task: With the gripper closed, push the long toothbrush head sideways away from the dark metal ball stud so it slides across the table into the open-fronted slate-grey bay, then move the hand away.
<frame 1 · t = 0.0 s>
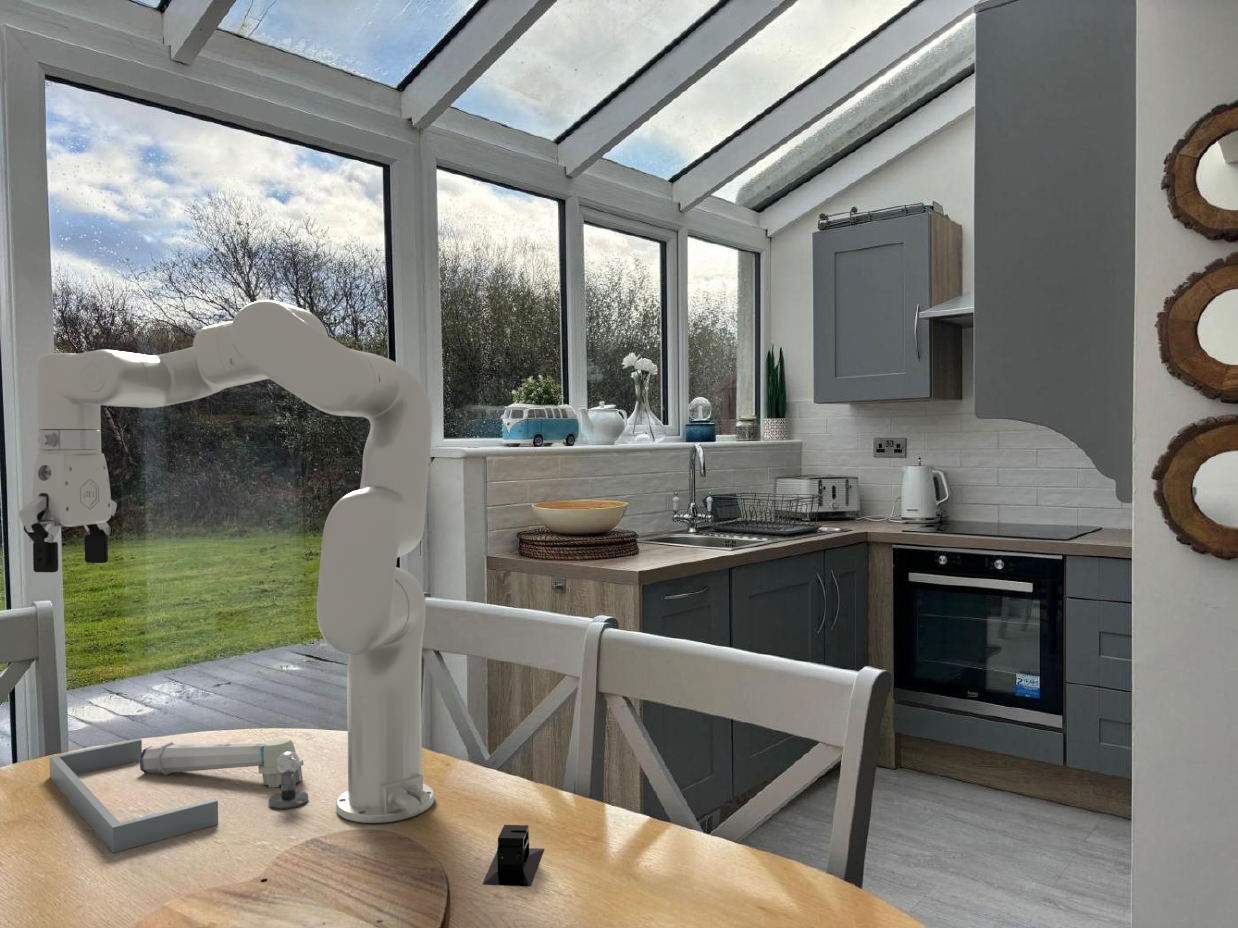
hand: (72, 567, 128), 31 cm above the table, tool pointing down, fingers open, 9 cm apart
bay: (128, 798, 125), on the table
black slotted block: (513, 872, 105), on the table
ball stud: (288, 802, 124), on the table
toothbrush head: (222, 780, 134), on the table
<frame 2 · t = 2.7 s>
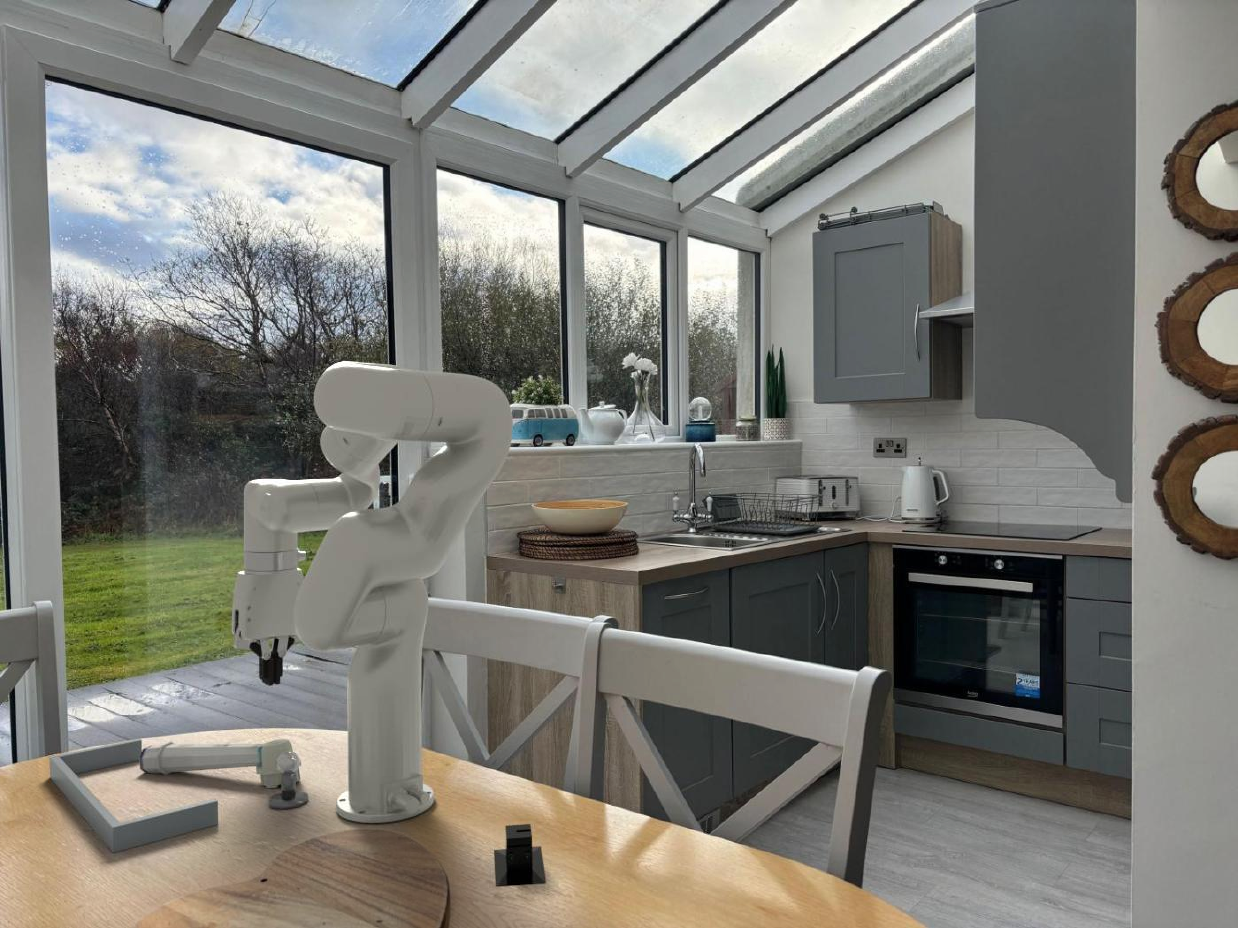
hand: (270, 682, 139), 12 cm above the table, tool pointing down, fingers closed
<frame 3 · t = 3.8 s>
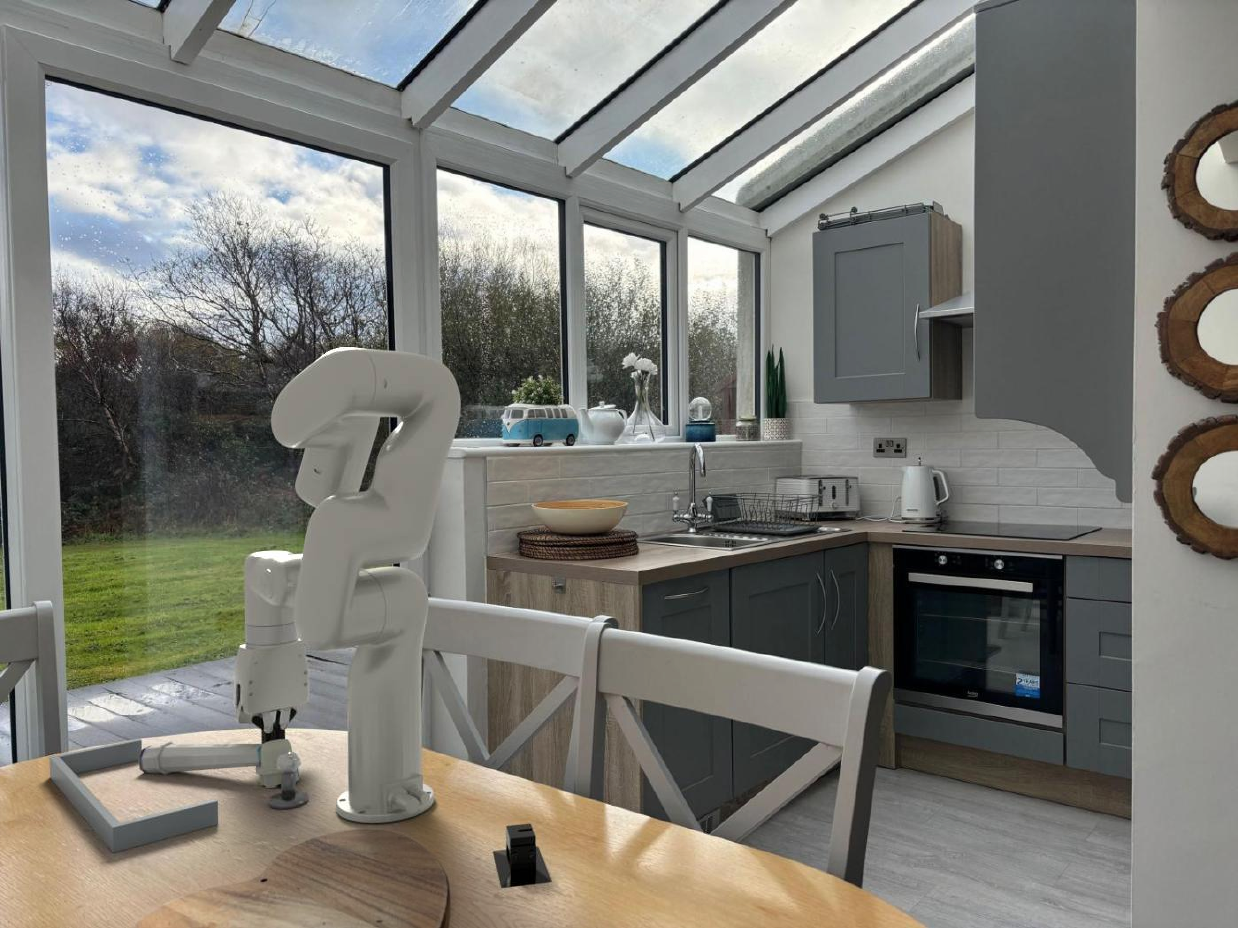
hand: (273, 755, 139), 1 cm above the table, tool pointing down, fingers closed
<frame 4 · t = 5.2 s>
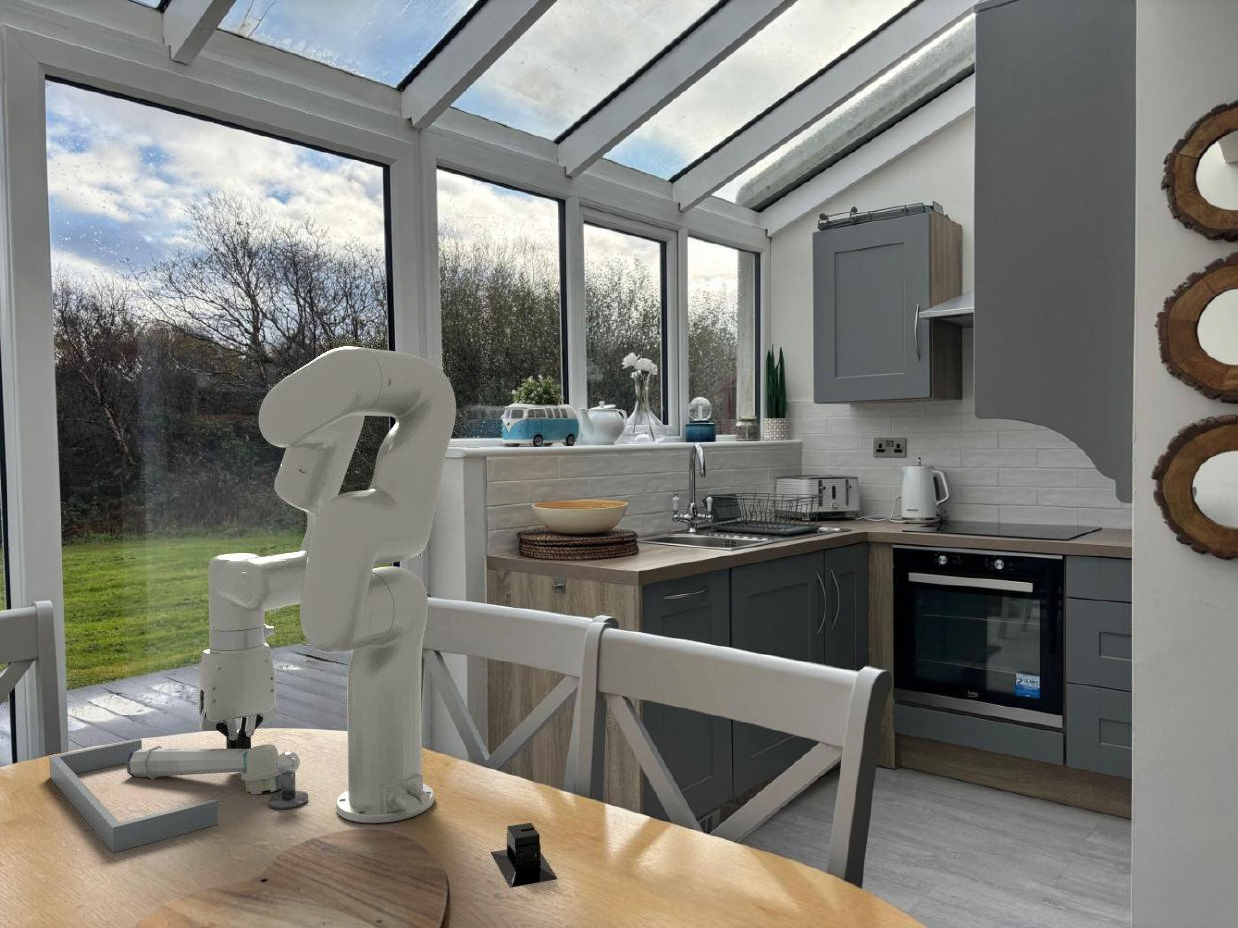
hand: (238, 763, 135), 1 cm above the table, tool pointing down, fingers closed
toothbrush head: (207, 785, 132), on the table
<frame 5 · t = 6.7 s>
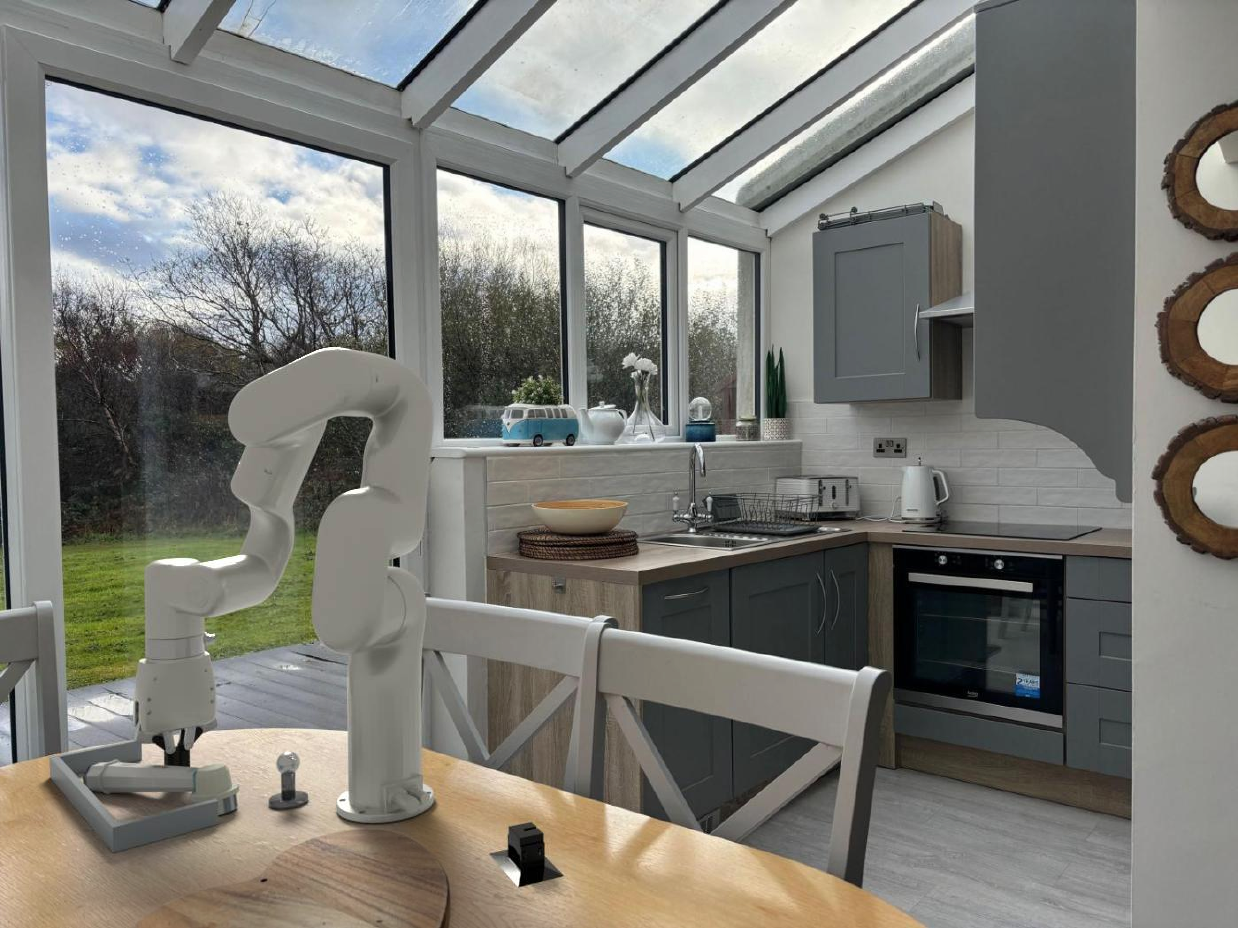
hand: (177, 777, 130), 1 cm above the table, tool pointing down, fingers closed
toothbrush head: (161, 803, 125), on the table, touching gripper
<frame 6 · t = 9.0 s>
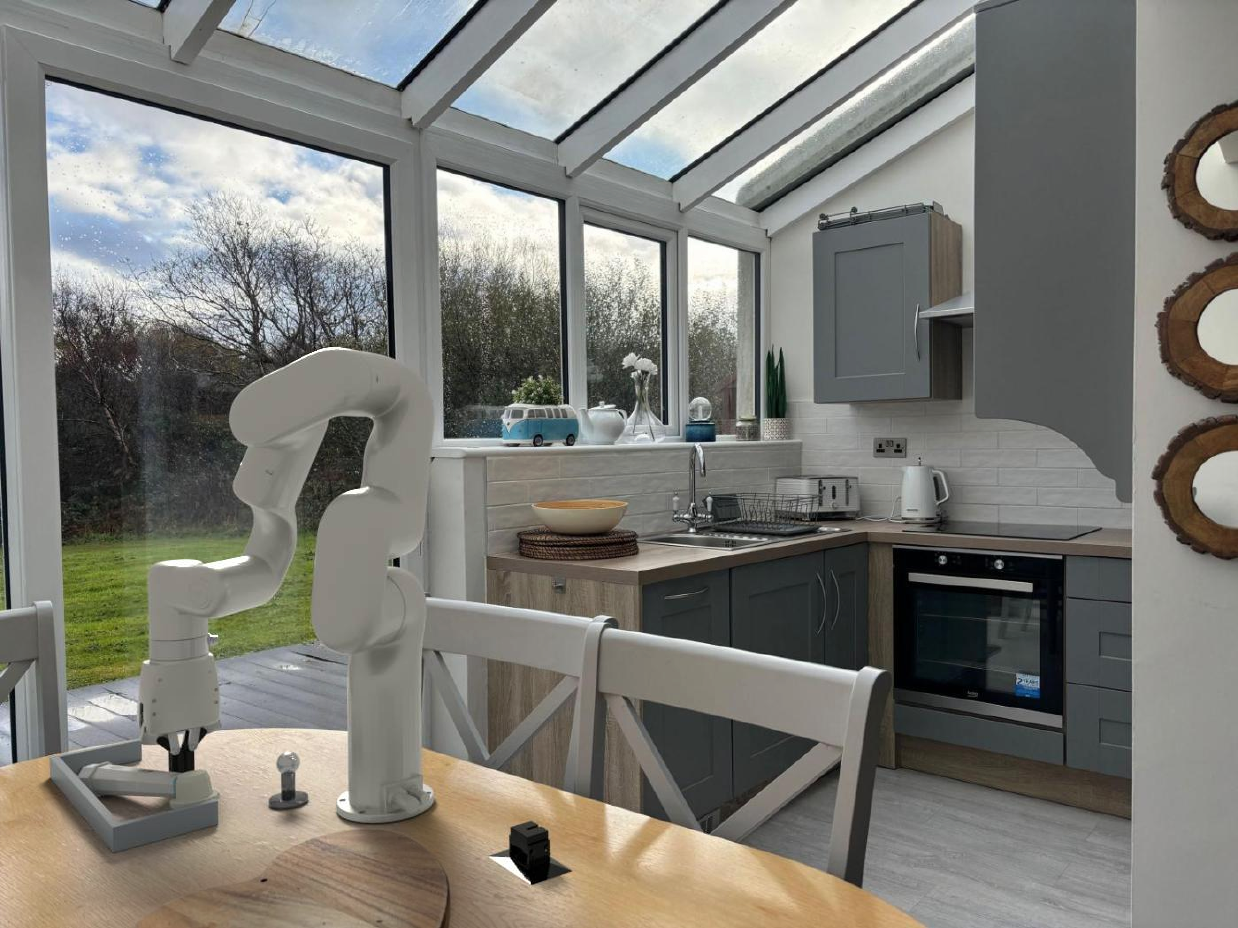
hand: (181, 778, 130), 1 cm above the table, tool pointing down, fingers closed
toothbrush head: (146, 808, 123), on the table
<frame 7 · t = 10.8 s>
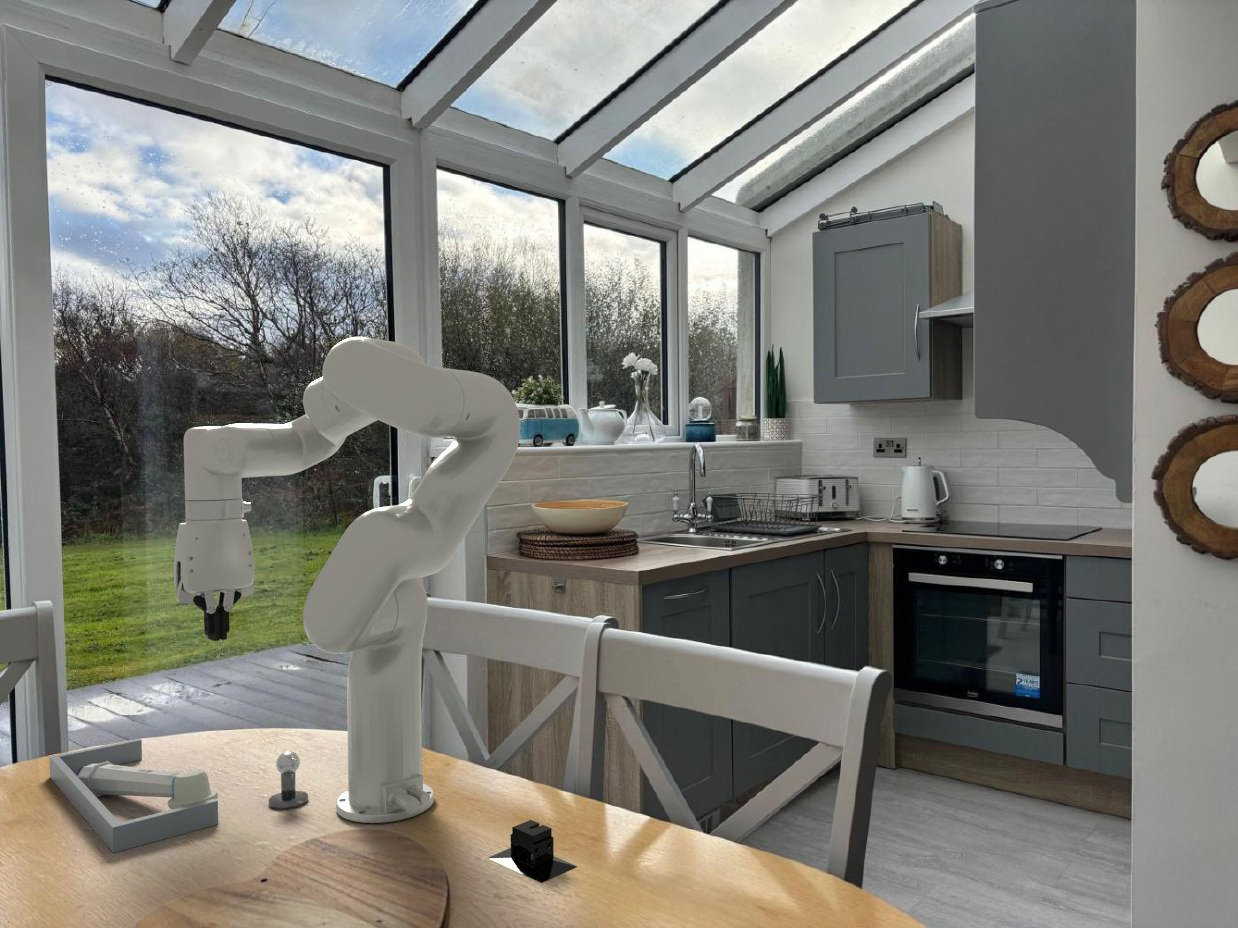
hand: (217, 638, 134), 20 cm above the table, tool pointing down, fingers closed
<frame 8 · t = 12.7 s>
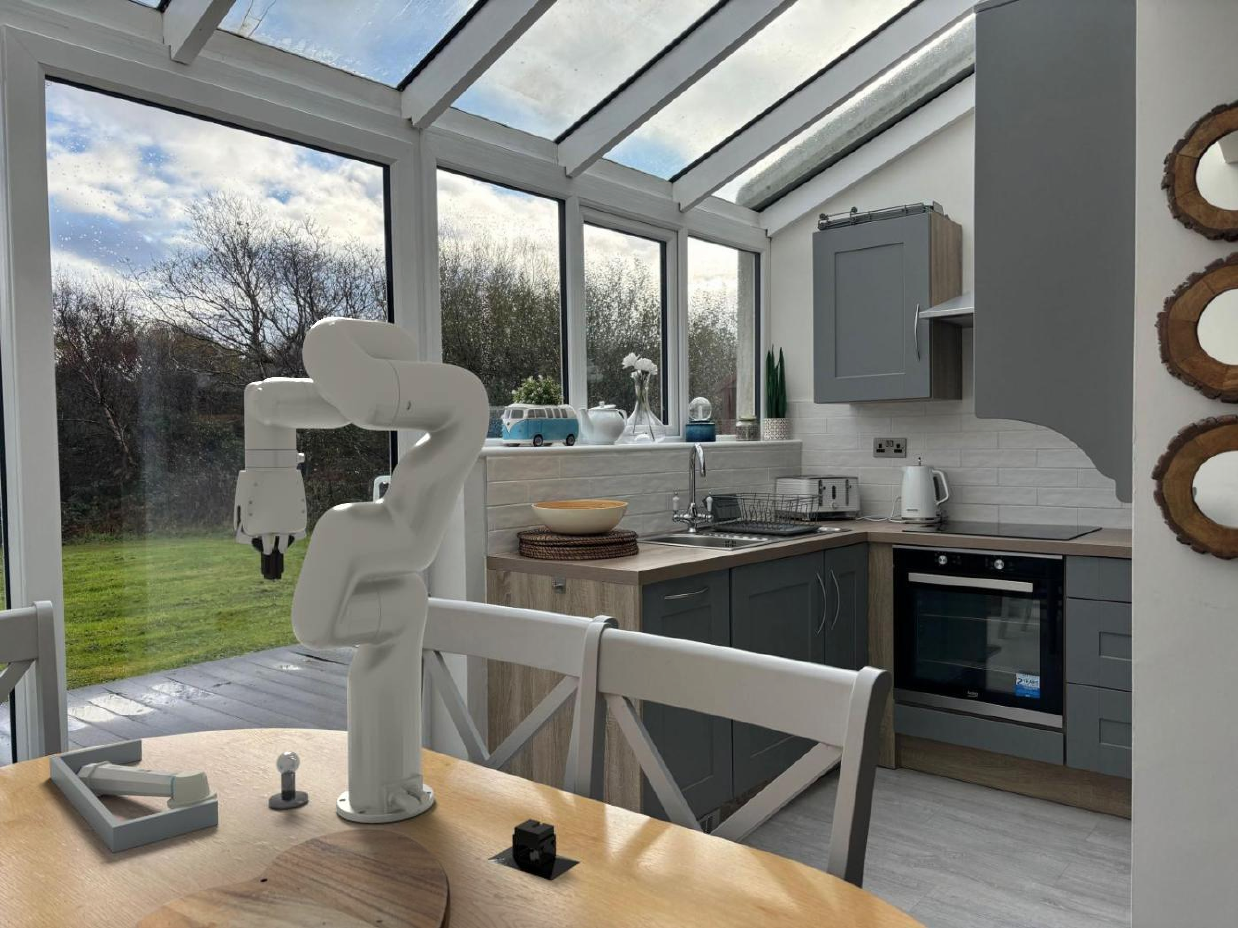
hand: (272, 578, 144), 27 cm above the table, tool pointing down, fingers closed
at the end: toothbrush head inside the target area on the bay (3.8 cm from its centre), point -0.5 cm above the bay's base; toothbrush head moved 12.0 cm from its start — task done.
